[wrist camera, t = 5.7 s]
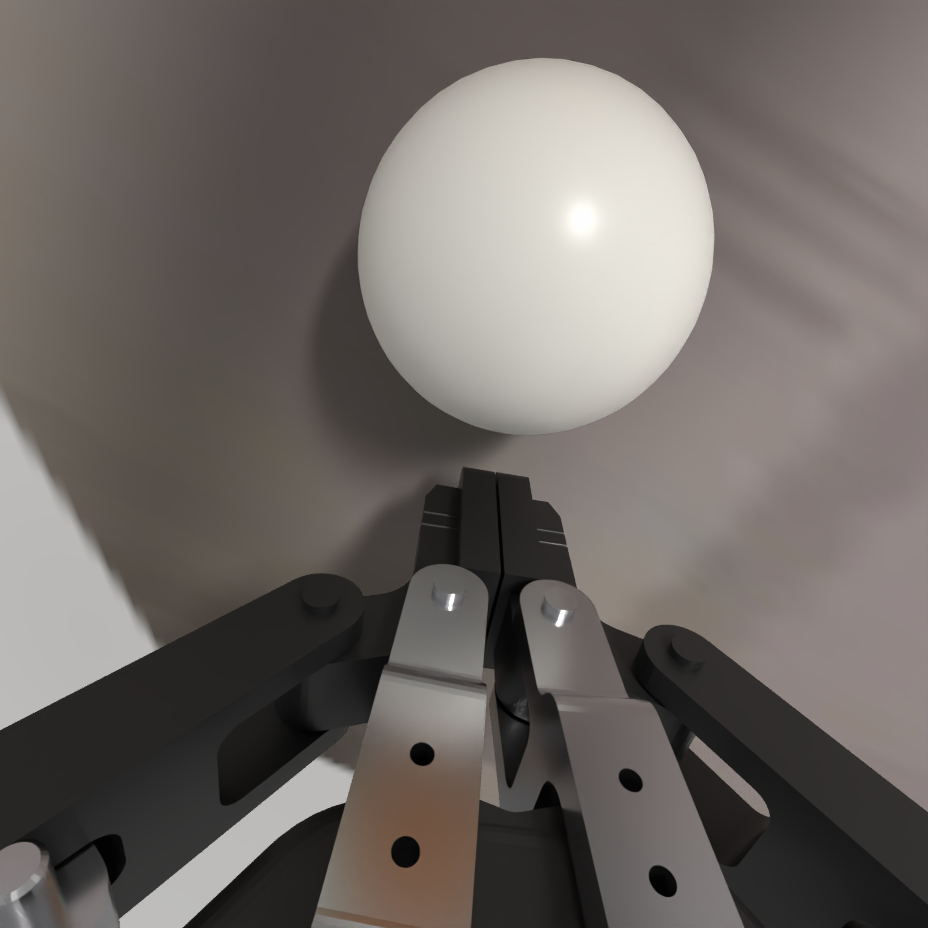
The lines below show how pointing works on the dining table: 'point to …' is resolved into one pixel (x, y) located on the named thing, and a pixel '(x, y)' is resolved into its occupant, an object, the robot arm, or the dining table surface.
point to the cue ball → (536, 246)
